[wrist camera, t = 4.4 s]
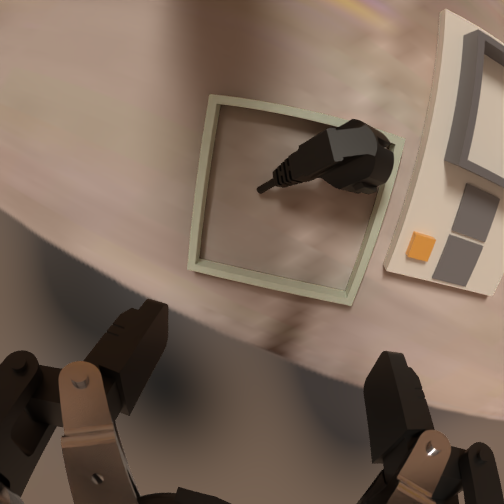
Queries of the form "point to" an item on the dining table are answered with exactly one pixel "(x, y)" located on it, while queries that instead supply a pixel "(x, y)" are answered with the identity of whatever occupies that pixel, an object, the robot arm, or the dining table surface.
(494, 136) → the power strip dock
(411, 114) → the dining table surface
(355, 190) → the power plug
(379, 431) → the robot arm
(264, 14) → the dining table surface
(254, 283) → the pick tray
